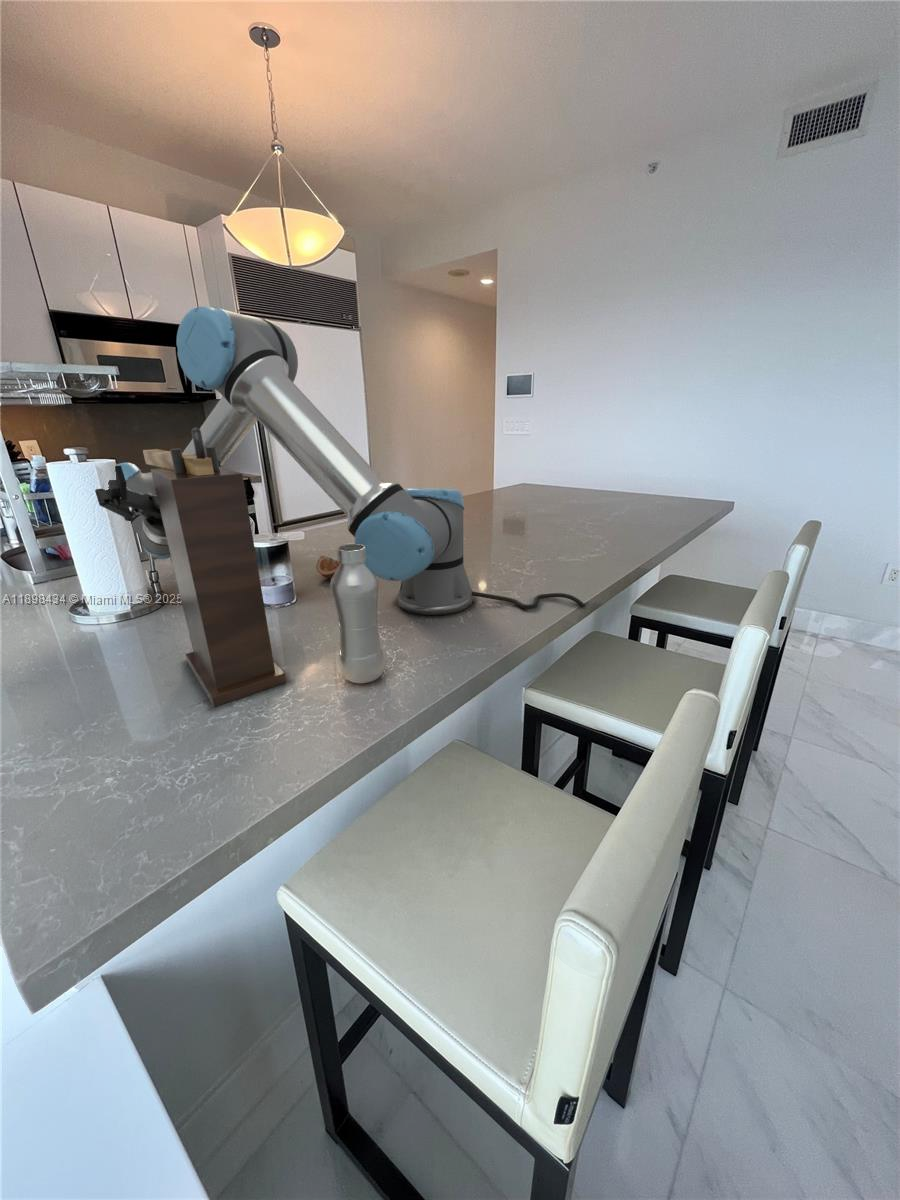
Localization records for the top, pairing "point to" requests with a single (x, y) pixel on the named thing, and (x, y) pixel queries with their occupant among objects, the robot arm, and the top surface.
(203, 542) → the hook stand
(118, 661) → the top surface
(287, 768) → the top surface
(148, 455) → the hanger bar
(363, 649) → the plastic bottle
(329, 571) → the fruit slice
